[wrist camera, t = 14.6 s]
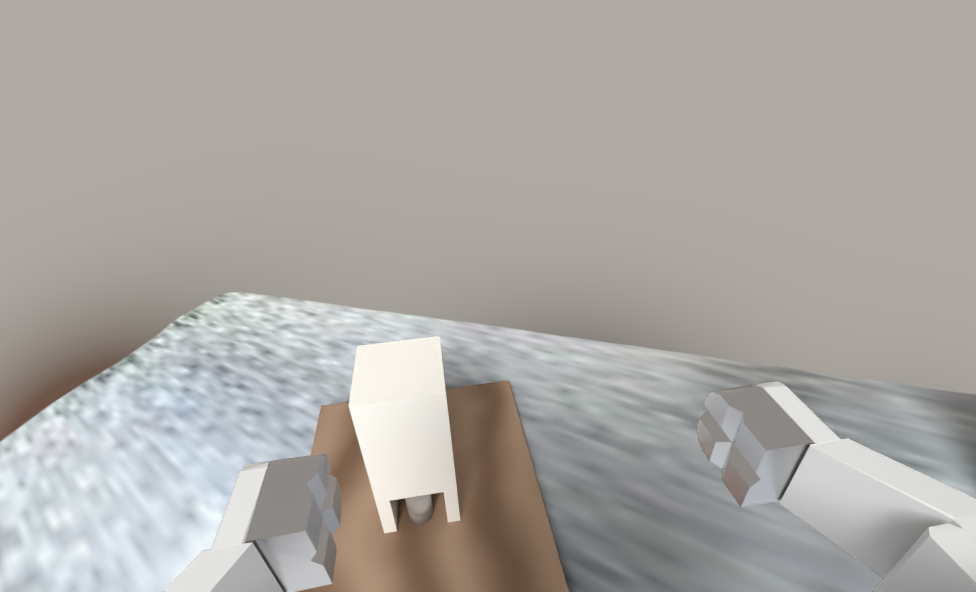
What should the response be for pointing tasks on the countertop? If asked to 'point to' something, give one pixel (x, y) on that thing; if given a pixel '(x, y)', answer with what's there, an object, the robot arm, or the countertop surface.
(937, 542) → the robot arm
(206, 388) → the countertop surface
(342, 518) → the stub board
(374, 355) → the housing
